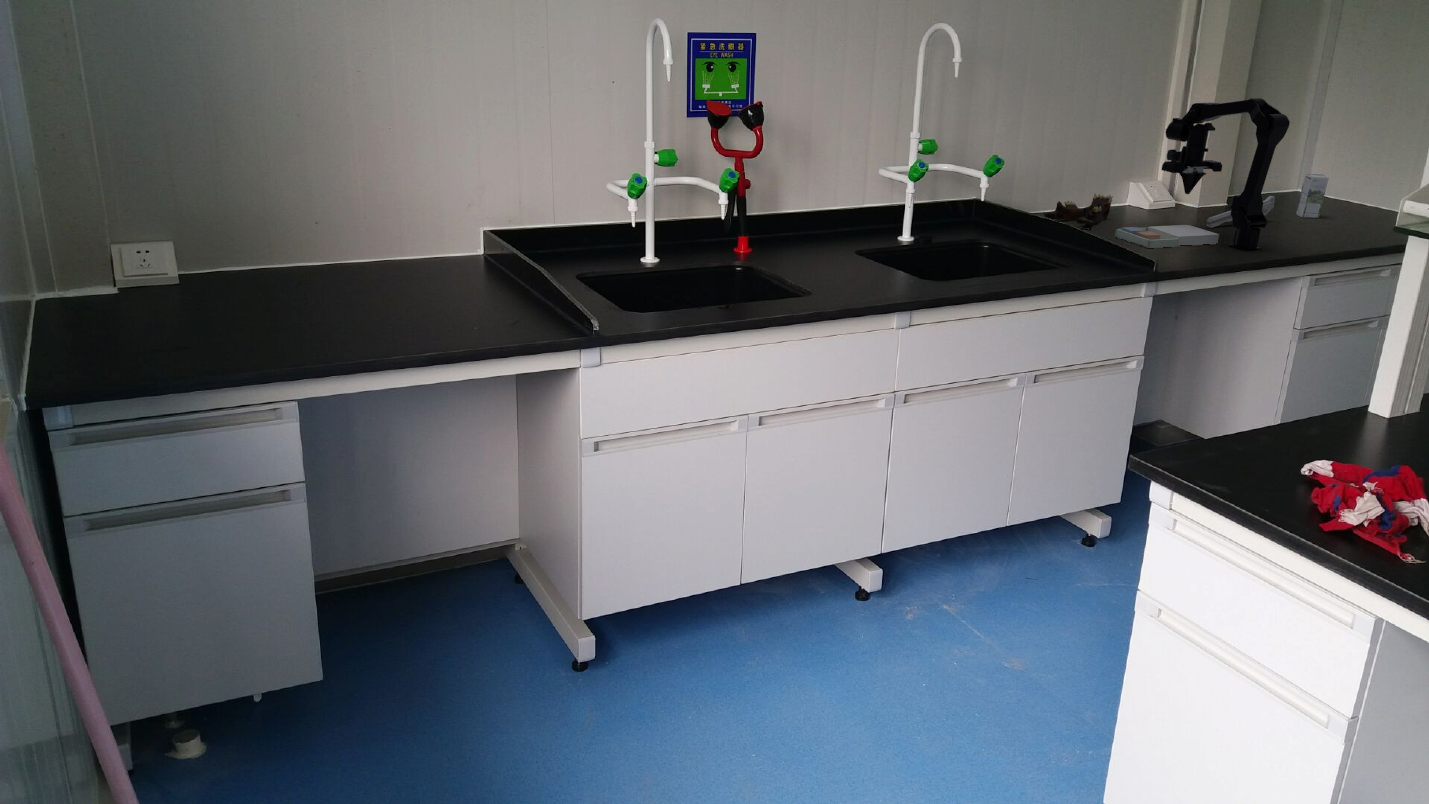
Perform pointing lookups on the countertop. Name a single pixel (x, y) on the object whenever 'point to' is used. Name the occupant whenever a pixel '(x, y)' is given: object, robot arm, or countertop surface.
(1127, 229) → the slate blue tile
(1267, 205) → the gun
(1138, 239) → the tray
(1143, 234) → the terracotta tile
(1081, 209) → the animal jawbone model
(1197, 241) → the plate
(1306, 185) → the syrup box
